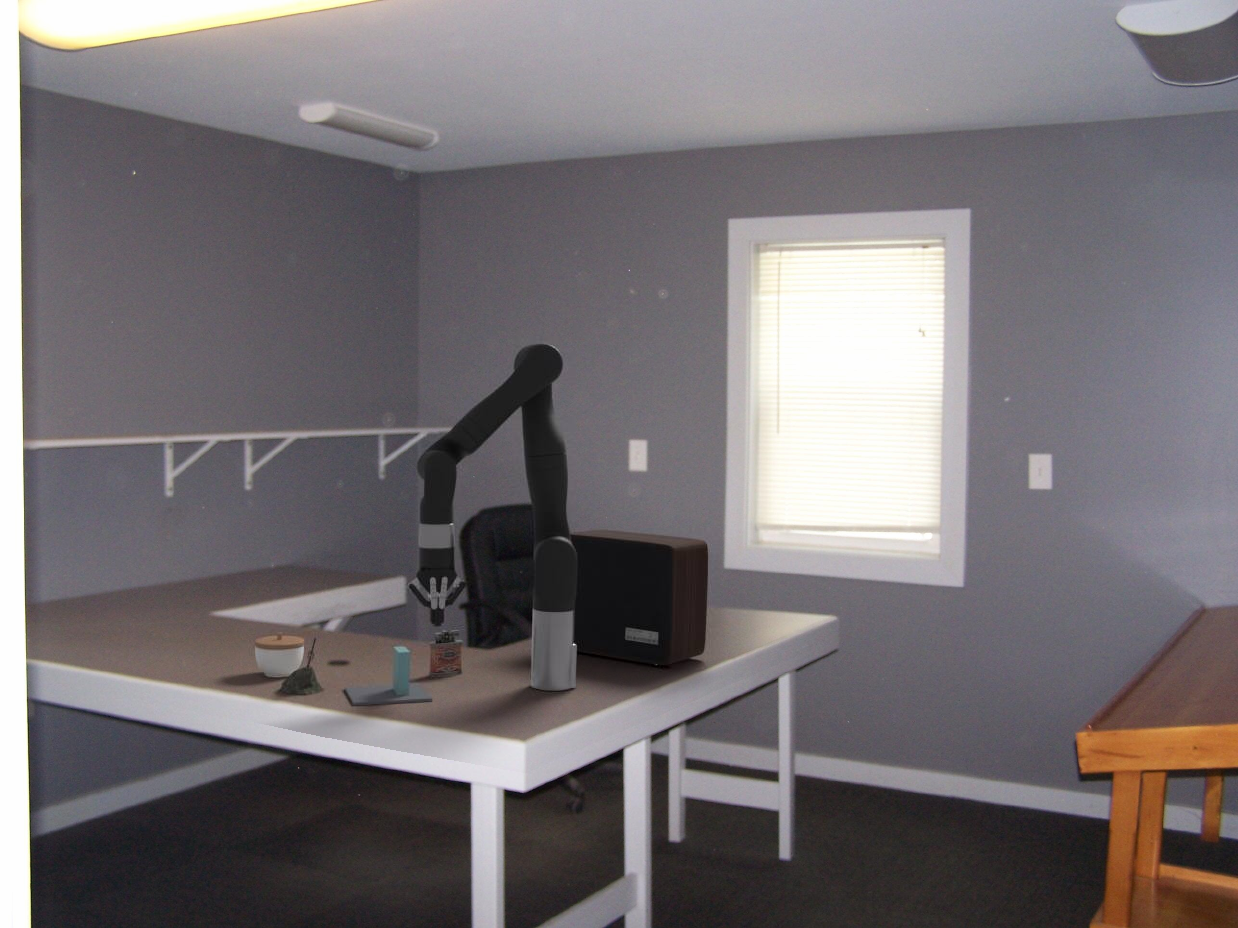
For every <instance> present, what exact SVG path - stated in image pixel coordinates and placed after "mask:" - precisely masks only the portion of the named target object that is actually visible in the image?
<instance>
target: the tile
mask: <svg viewBox="0 0 1238 928" xmlns="http://www.w3.org/2000/svg"><path fill="white" fill-rule="evenodd" d="M392 655H393V658H392V659H393V661H392V662H393V663H392V664H393V665H392V685H393V690H394V691H395V692H396V694H397V695H409V684H410V676H411V675H410V674H411V673H410V671H411V669H410V668H411V664H410V663H411V651H410V650H409V649H408V648H407V647H406V646H405V645H404V646H393V654H392Z"/></svg>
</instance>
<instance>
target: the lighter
mask: <svg viewBox="0 0 1238 928" xmlns="http://www.w3.org/2000/svg"><path fill="white" fill-rule="evenodd" d="M456 637H461V631H460V630H459V629H457V630H449V631H447V630H444V629H443V630H441V632H435V633H434V640H435V641H431V642H429V647H430V651H429V652H430V654H429V657H430V659H429V663H430V664H429V673H428V676H429V677H432V678H439V677H442V678H443V677H451V676H457V675H462V674H463V669H462V660H463V658H462V657H463V644H464V640H462V639H456Z"/></svg>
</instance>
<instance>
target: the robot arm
mask: <svg viewBox="0 0 1238 928" xmlns="http://www.w3.org/2000/svg"><path fill="white" fill-rule="evenodd" d="M563 359H564V358H563V355H562V354H561V352H560V350H559V349H557V347H555V346H553V344H552V345H551V344H549V343H542V342H540V343H534V344H530V345H529V344H528V345H527V346H524V347H522V348H521V349H520V350H519V351H518V352H517V354H516V356H515V358H514V362H513V370H514V371H513V373H511V375H510V376H509V377H508V378H507V379H506V380H505V381H504V382H503V383H502V384H501V385H499V387H498V388H496V389H495V390H493V392H492V393H490V394H489V395H487V396H486V397H485V398H483V400H480V402H479V403H478V402H477V404H476V405H475V406H473V408H471V409H469V411H468V412H467V413H466V414H464V415H463V417H461V419H460V420H459V421H458V422H456V423H455V424H454V426H453V427H452V428H451V429H450V430H449V431H448V432H447V433H445V434H444V435H443V436H441V437H440V438H439V439H438V440H437V441H435V442H434V443H433V444H431V445H430V446H429V447H428V448H427V449H426V450H424V452H423V453H422V454H421V456H420V457H419V458H418V461H417V464H416V470H417V474H418V475H419V477H420V478H421V479H423V480H424V481H423V482H424V483H423V484H424V485H423V495H422V496H423V497H422V498H421V500H420V503H419V531H418V540H417V543H418V570H417V573H416V574H415V575H416V577H415V579H413V580H412V581H410V582H407V583H406V587H407V588H408V589H409V591H410V592H411V593H412V594H413V596H414V597H415V599H417V601H418V602H419V603H420V604H421V605H422V606H423V607H427V608H428V609H429V615H428V616H429V617H428V618H429V623H430V624H431V625H432V626H433V627H435V628H436V627H441V626H442V624H444V622H445V608H447V607H448V606H452V605H453V604H454V603H455V601H456V600H457V599H458V597H460V595H461V593H463V591H464V590H465V588H466V587H467V585H468V584H467V582H466V581H464V580H462V579H461V578H460V577H458V573H457V571H456V568H455V566H456V561H455V559H456V556H455V552H456V550H455V547H456V545H455V539H456V538H455V535H456V534H455V528H454V497H455V491H456V487H457V486H456V485H457V476H458V475H457V474H458V472H457V470H458V469H457V465H458V464H459V463H460V462H462V460H463V459H464V458H466V457H468V456H471V455H473V454H474V453H475V452H476V451H478V449H479V448H480V447H482V446H483V444H485V442H487V440H488V439H490V438H491V437H492V436H493V435H494V434H495V432H497V431H498V429H500V427H501V426H502V425H503V424H504V423H506V421H507V420H508V419H509V418H510V417H511V416H512V415H514V413H515V412H516V411H518V410H519V408H520V409H521V421H522V423H521V424H522V425H521V426H522V440H523V452H524V453H523V455H524V465H525V466H524V468H525V475H526V476H525V477H526V483H527V487H528V493H529V497H530V502H531V507H532V512H533V522H534V526H533V527H534V528H533V529H534V537H533V539H534V542H533V562H534V575H533V576H534V579H533V581H534V583H533V585H534V586H533V597H532V626H531V627H532V628H531V632H532V633H531V659H530V660H531V661H530V662H531V663H530V665H531V667H530V669H531V670H530V671H531V672H530V687H531V688H533V689H536V690H540V691H557V692H558V691H566V690H570V689H575V688H576V687H577V685H576V684H577V682H576V681H577V655H578V654H577V653H578V651H577V645H576V644H574V619H575V599H576V587H577V553H576V550H575V548H574V546H573V545H572V542H571V538H570V533H571V532H570V529H569V528H570V527H569V522H568V515H567V513H568V512H567V504H568V503H567V501H568V490H569V489H568V487H569V471H568V469H569V468H568V457H567V447H566V442H565V439H564V435H563V432H562V429H561V426H560V424H559V421H558V418H557V415H556V411H555V409H554V401H553V383H554V382H555V381H557V380H558V378H559V377H560V376H561V374H562V372H563V369H564V360H563ZM420 585H421V586H422V588H423V589H424V590H425V591H426V592H427V597H428V599H426V598H425V597H424V595H423V594H422V593H421V592H420V591H419V590H420V588H421V586H420ZM452 585H453V587H454V588H453V589H452V590H451V591H450V592H449V594H448V595H447V591H448V590H450V588H451V586H452Z"/></svg>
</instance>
